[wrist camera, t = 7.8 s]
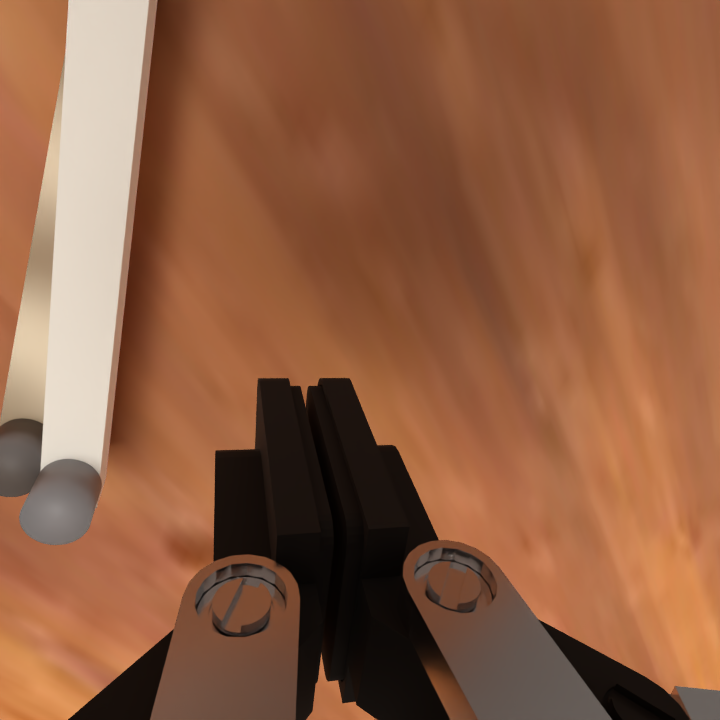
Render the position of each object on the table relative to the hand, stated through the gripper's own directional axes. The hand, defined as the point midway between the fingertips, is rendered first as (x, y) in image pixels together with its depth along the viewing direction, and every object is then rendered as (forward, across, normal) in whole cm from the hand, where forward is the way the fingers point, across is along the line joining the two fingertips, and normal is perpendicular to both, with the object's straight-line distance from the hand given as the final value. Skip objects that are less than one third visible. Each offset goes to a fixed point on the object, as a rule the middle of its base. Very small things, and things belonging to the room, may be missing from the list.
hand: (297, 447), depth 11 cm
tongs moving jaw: (+12, +6, +1) cm, 13 cm away
